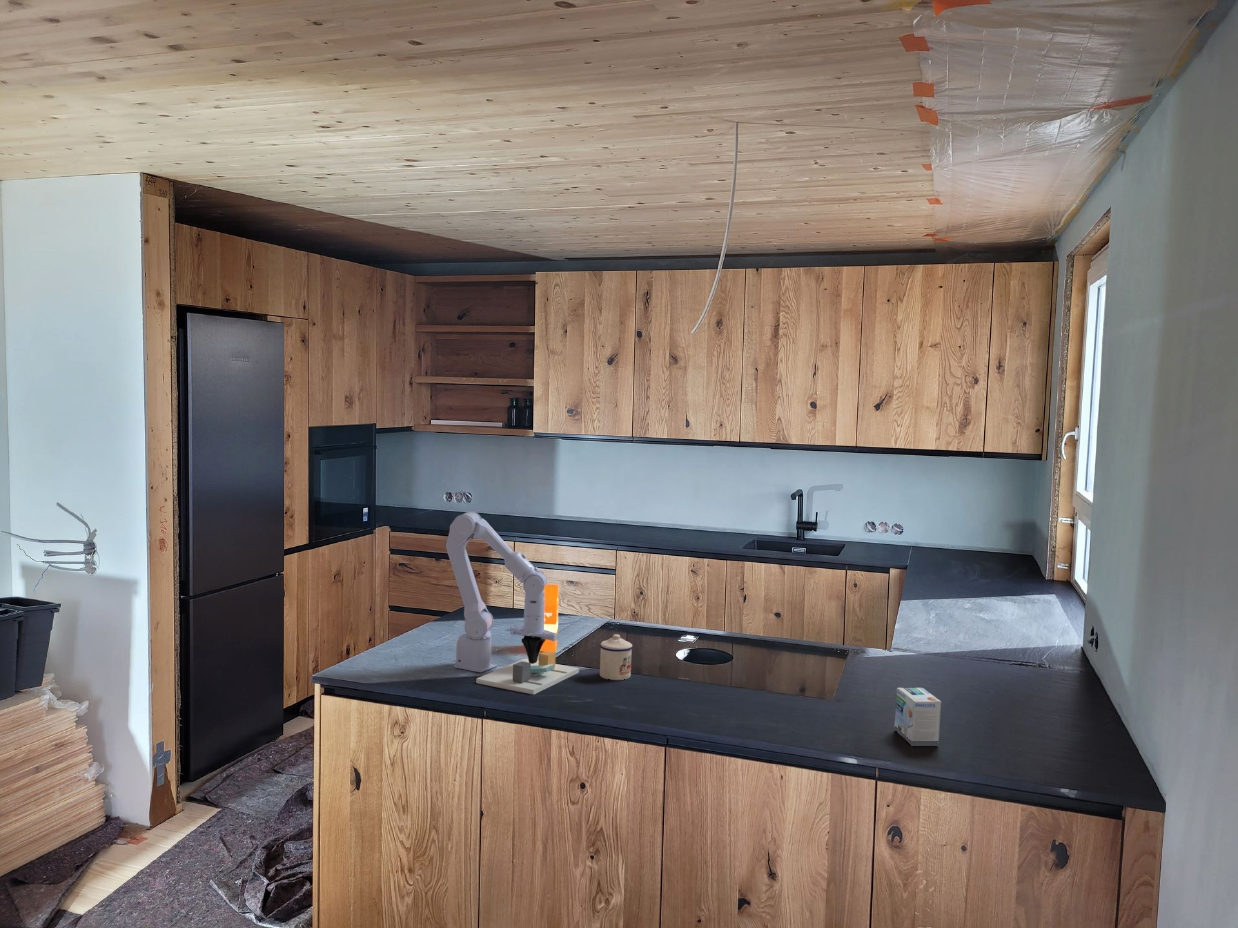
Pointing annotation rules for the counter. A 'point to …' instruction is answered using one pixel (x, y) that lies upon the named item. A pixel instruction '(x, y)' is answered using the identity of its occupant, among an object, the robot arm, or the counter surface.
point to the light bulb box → (917, 714)
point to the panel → (531, 686)
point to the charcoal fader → (521, 671)
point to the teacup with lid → (615, 658)
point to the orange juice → (551, 616)
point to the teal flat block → (541, 668)
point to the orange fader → (547, 658)
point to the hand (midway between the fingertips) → (532, 662)
